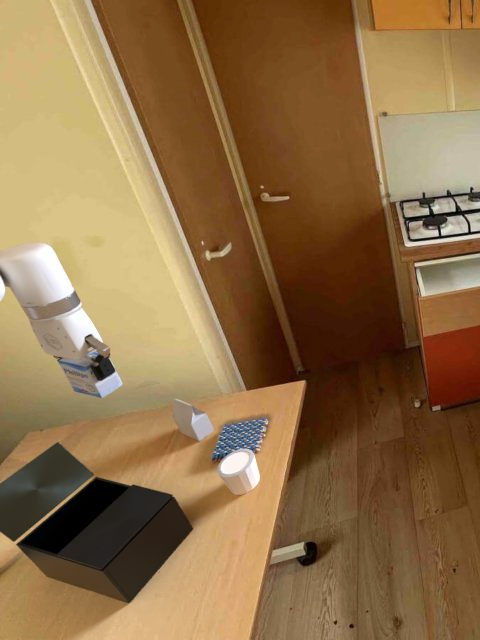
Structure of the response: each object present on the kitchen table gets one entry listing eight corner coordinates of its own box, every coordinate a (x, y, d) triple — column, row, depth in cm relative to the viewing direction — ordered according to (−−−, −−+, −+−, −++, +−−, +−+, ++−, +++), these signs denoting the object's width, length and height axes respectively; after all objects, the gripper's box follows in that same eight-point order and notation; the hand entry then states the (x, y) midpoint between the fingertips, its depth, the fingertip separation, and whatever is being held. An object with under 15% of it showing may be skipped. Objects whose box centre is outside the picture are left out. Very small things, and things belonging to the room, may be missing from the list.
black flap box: (46, 576, 77) (13, 541, 71) (118, 508, 88) (94, 473, 82) (129, 603, 73) (100, 568, 68) (193, 528, 84) (172, 494, 79)
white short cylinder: (269, 477, 94) (260, 457, 91) (238, 503, 89) (228, 482, 85) (251, 463, 97) (242, 443, 94) (220, 488, 92) (210, 467, 88)
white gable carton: (199, 441, 102) (185, 412, 97) (180, 433, 104) (165, 404, 100) (214, 429, 105) (200, 400, 100) (195, 421, 107) (181, 393, 103)
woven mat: (270, 419, 108) (268, 414, 107) (260, 455, 99) (257, 449, 98) (225, 428, 106) (222, 422, 105) (210, 465, 96) (207, 459, 95)
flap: (14, 541, 71) (13, 541, 72) (94, 474, 82) (93, 474, 82) (-32, 506, 68) (-33, 507, 68) (58, 441, 79) (57, 441, 79)
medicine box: (74, 392, 91) (55, 361, 87) (96, 378, 95) (80, 347, 91) (102, 399, 89) (84, 367, 86) (124, 384, 93) (108, 353, 90)
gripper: (-6, 309, 81) (39, 378, 89) (65, 321, 78) (104, 392, 85) (41, 289, 87) (78, 355, 95) (108, 300, 84) (141, 367, 92)
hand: (90, 372), depth 90 cm, fingers closed on medicine box, 8 cm apart
